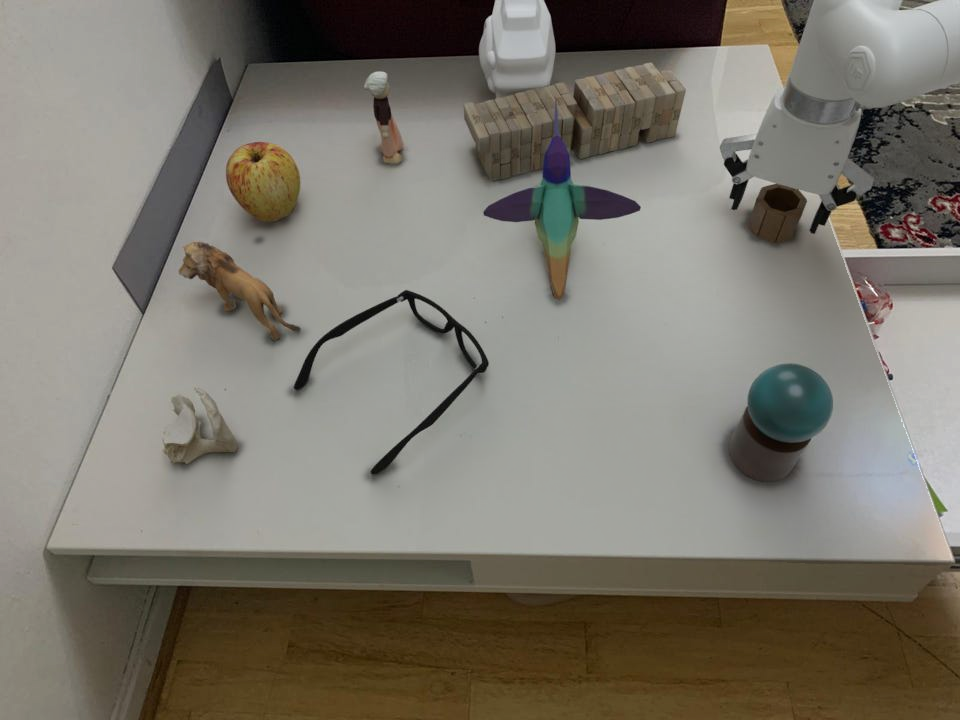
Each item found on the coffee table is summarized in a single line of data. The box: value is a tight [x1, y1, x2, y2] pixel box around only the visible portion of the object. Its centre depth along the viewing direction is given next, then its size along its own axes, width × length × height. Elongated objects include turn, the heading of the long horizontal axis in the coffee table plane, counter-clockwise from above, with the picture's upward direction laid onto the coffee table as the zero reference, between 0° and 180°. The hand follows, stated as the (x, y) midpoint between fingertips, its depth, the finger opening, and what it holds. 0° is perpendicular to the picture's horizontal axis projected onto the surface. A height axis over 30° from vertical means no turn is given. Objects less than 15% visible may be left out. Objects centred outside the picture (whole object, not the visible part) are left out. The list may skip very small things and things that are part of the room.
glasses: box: [293, 289, 490, 476], centre depth 79 cm, size 17×18×5 cm
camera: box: [478, 0, 556, 99], centre depth 104 cm, size 11×18×16 cm, turn 0°
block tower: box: [463, 62, 687, 182], centre depth 100 cm, size 8×8×29 cm
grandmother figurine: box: [363, 71, 404, 165], centre depth 99 cm, size 8×4×13 cm, turn 22°
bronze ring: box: [747, 183, 808, 244], centre depth 90 cm, size 6×6×4 cm
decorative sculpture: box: [482, 98, 642, 301], centre depth 86 cm, size 17×18×15 cm
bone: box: [162, 386, 238, 465], centre depth 75 cm, size 9×6×10 cm
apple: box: [225, 141, 301, 222], centre depth 94 cm, size 9×9×10 cm
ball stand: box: [728, 362, 834, 483], centre depth 68 cm, size 7×7×13 cm
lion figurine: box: [178, 241, 302, 341], centre depth 84 cm, size 15×5×9 cm, turn 62°
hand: (774, 214), depth 91 cm, fingers open, 9 cm apart
